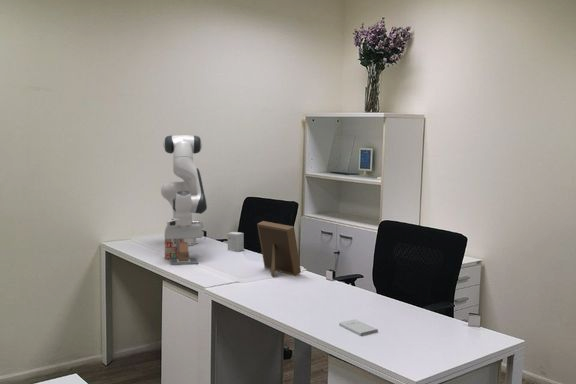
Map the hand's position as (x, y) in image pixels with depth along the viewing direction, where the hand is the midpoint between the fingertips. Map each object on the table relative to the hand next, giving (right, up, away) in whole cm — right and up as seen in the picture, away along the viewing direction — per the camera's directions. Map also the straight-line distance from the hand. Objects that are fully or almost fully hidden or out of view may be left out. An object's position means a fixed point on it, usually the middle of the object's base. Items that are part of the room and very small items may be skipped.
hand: (183, 246), depth 300 cm
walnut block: (0, -8, +1) cm, 8 cm away
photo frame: (+50, -12, -18) cm, 54 cm away
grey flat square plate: (0, -8, +1) cm, 8 cm away
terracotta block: (0, -3, 0) cm, 3 cm away
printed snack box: (-8, -6, +15) cm, 18 cm away
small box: (+25, -6, +32) cm, 41 cm away
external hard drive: (+82, -21, -96) cm, 128 cm away
